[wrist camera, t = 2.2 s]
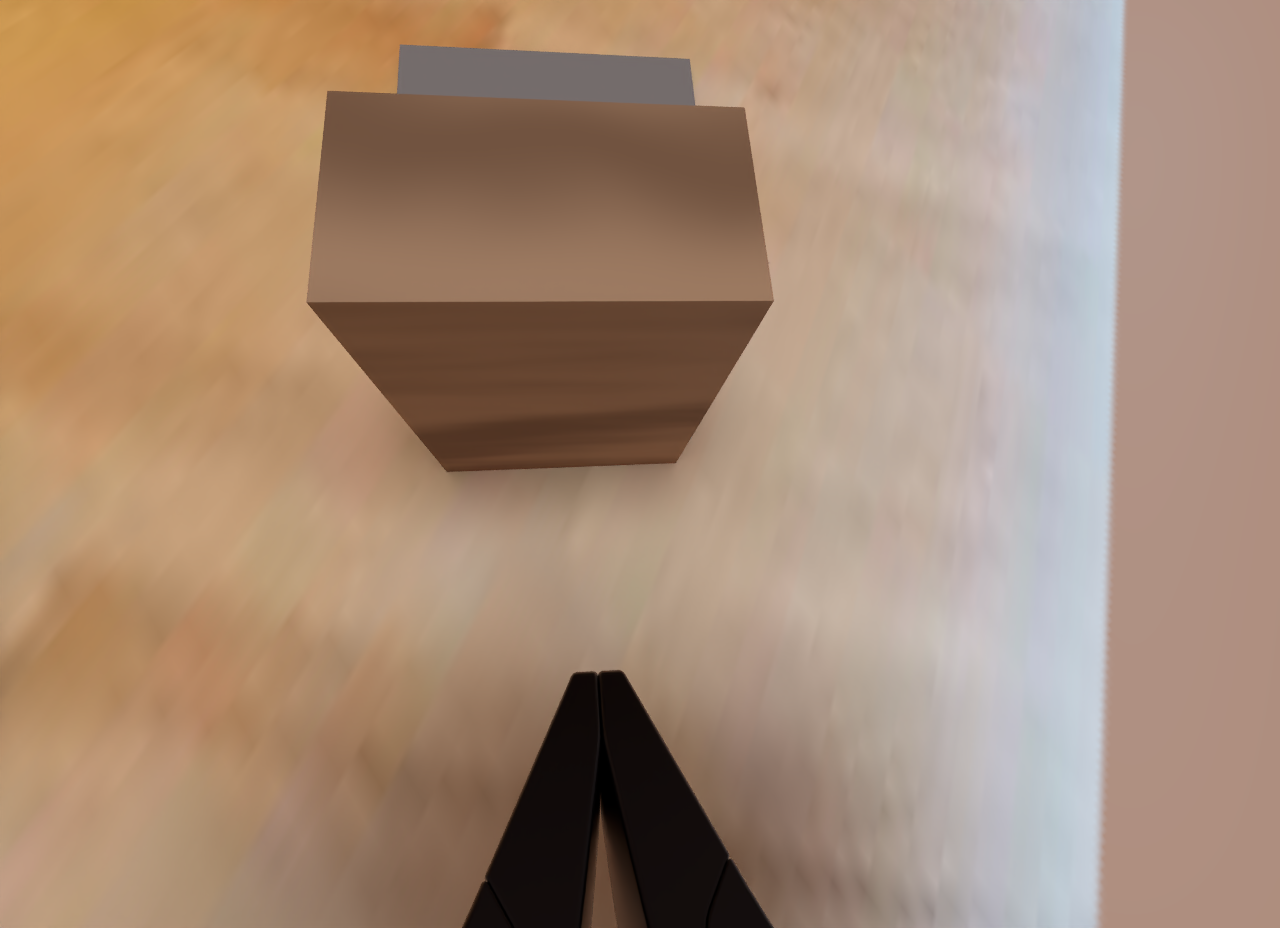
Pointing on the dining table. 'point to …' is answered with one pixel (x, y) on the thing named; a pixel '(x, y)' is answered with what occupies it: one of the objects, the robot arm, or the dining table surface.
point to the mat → (544, 75)
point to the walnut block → (539, 270)
